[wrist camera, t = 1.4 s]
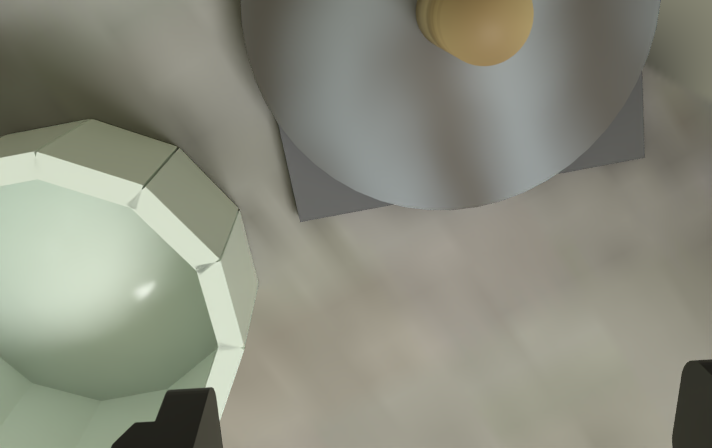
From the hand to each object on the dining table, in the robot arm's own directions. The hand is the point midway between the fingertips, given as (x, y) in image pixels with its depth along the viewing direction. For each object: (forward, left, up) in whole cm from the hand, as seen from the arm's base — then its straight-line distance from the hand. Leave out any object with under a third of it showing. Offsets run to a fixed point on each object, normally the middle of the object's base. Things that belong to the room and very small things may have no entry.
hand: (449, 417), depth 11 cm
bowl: (+14, +4, -20) cm, 25 cm away
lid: (-4, -5, -19) cm, 21 cm away
